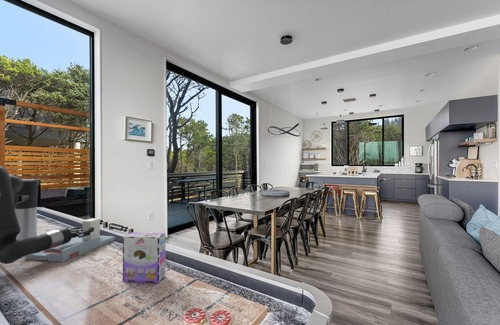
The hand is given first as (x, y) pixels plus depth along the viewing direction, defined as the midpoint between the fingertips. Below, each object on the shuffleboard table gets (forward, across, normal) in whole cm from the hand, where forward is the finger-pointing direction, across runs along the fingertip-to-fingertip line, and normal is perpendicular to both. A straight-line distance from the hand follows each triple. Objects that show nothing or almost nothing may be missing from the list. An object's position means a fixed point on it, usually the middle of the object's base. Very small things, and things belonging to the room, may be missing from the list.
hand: (86, 228), depth 123 cm
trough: (-7, 0, +8) cm, 10 cm away
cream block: (+3, 0, +6) cm, 7 cm away
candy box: (-28, -53, +8) cm, 60 cm away
